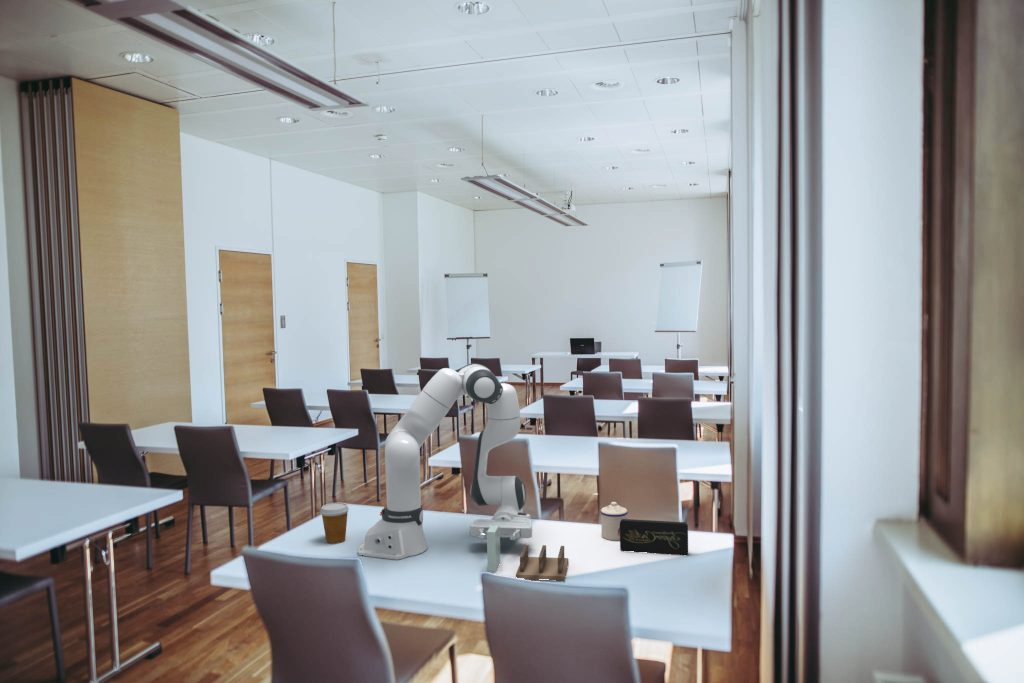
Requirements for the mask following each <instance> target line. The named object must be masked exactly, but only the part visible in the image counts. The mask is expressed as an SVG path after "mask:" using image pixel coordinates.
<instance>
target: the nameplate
mask: <svg viewBox="0 0 1024 683" xmlns="http://www.w3.org/2000/svg"><path fill="white" fill-rule="evenodd" d="M619 548H620V549H619V550H620V551H621V552H624V551H634V552H633V553H639V552H647V553H646V554H654V553H656V554H657V555H669V554H671V556H672V555H673V556H684V555H686V556H688V555H689V525H688V523H687V522H685V521H684V522H683V521H670V520H669V521H668V520H652V519H651V520H650V519H649V520H648V519H646V520H645V519H631V518H630V519H628V518H627V519H622V520H621V521H620V540H619Z"/></svg>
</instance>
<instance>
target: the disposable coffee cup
mask: <svg viewBox="0 0 1024 683" xmlns="http://www.w3.org/2000/svg"><path fill="white" fill-rule="evenodd" d="M349 510H350V508H349V506H348V503H345V502H332V503H331V502H330V503H326V504H323V505H322V506H321V508H320V510H319V511H320V512H319V513H320V515H321V517H322V518H321V519H322V523H323V530H324V535H325V541H326V543H327V544H332V545H333V544H334V545H335V544H340V543H343V542H345V541H346V535H347V534H346V533H347V526H348V525H347V522H348V512H349Z"/></svg>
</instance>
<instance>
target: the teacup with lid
mask: <svg viewBox="0 0 1024 683" xmlns="http://www.w3.org/2000/svg"><path fill="white" fill-rule="evenodd" d="M628 513H629V512H628V509H627V508H626V507H624V506H621V505H619V504H618V503H617V502H616V501H612V502H610V504H609V505H607V506H604V507H602V508H601V509H600V516H601V518H600V520H601V537H602V538H603V539H605V540H609V541H620V521H621V520H622V519H628Z"/></svg>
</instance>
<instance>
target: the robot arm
mask: <svg viewBox="0 0 1024 683" xmlns="http://www.w3.org/2000/svg"><path fill="white" fill-rule="evenodd" d="M464 395H466V396H468V398H470V399H472V400H474V401H475V402H478V403H483V404H485V405H486V408H487V410H486V411H487V412H486V414H487V416H486V417H487V423H486V426H485V428H484V429H483V430H481V431H480V432H479V435H478V439H477V443H476V450H475V457H474V458H475V459H474V466H473V467H474V468H473V474H472V475H473V476H472V482H471V484H470V493H469V494H470V499H471V500H472V501H473V502H474V503H475V504H476V505H477V506H479V507H480V506H482V507H483V506H489V505H492V506H493V505H495V506H497V505H499V506H498V508H497V510H496V511H495V513H494V515H493V516H492V518H490V519H489V518H487V519H486V518H485V519H484V518H480V519H476V520H474V521H472V522H471V523H470V524H469V535H470V536H471V537H477V538H479V539H480V540H485V539H487V531H488V529H489V528H490V526H491V524H493V525H499V529H500V538H505V539H506V538H509V540H510V541H515V540H516V539H530V538H532V537H533V521H532V519H531V514H529V513H525V512H523V511H524V506H525V504H526V498H527V496H526V495H527V493H526V486H525V483H524V482H523V480H522V479H521V478H520V477H519V476H518V475H488V474H487V466H488V459H489V453H490V451H491V450H492V449H495V448H496V447H499V446H501V445H503V444H507V443H508V442H511V441H512V440H513V439H515V437H516V436H518V434H519V431H520V429H521V411H520V410H521V409H520V403H519V396H518V393H517V390H516V388H515V387H514V386H513V385H511V384H510V383H507V382H506V383H505V382H500V381H499V379H498V377H497V376H496V375H495V374H494V372H492V371H491V370H490V369H489V368H488V367H487V366H485V365H483V364H481V363H476V362H473V363H468V364H466V365H464V366H462V367H460V368H459V369H456V370H454V369H453V368H449V367H444V368H441V369H439V370H438V371H437V372H436V373H435V374H434V375H433V376H432V377H431V378H430V380H429V381H427V383H426V384H425V385H424V387H423V388H422V389H421V391H420V393H419V394H418V395H417V397H416V398H415V399H414V400H413V402H412V404H411V405H410V407H409V408H408V410H406V412H405V413H404V414H403V416H402V417H401V418H400V419H399V421H398V422H397V423H396V425H395V426H394V427H393V428H392V430H391V431H390V432H389V433H388V434H387V437H386V438H385V442H384V443H385V444H384V468H385V469H384V470H385V487H386V491H385V492H386V493H385V494H386V504H385V505H384V507H383V508H382V509H381V510H380V513H379V516H380V517H381V519H379V520H378V521H377V522H376V523H375V524H374V525H371V527H370V528H369V529H368V530H367V531H366V533H365V538H364V542H363V543H362V544H361V545H360V546H359V547H358V548H357V555H358V556H362V555H363V557H371V558H378V559H379V558H380V559H386V560H387V559H388V560H396V561H397V560H401V559H404V558H407V557H413V556H416V555H419V554H420V555H421V554H422V553H424V552H426V550H428V544H427V540H426V537H425V532H424V527H423V522H424V511H423V510H424V509H423V505H422V498H421V497H422V496H421V451H420V449H421V447H422V446H423V444H424V443H425V442H426V441H427V439H428V438H429V437H430V436H431V434H433V433H434V431H436V430H437V429H438V427H439V426H440V424H441V423H442V421H443V420H444V418H445V417H446V415H447V414H448V413H449V411H450V410H451V408H453V405H454V404H455V402H456V401H457V400H458V399H459V398H460V397H462V396H464Z"/></svg>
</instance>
